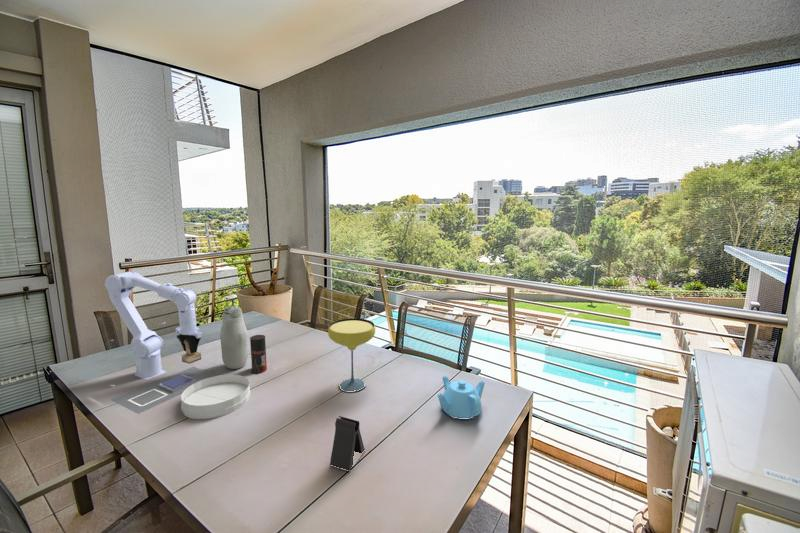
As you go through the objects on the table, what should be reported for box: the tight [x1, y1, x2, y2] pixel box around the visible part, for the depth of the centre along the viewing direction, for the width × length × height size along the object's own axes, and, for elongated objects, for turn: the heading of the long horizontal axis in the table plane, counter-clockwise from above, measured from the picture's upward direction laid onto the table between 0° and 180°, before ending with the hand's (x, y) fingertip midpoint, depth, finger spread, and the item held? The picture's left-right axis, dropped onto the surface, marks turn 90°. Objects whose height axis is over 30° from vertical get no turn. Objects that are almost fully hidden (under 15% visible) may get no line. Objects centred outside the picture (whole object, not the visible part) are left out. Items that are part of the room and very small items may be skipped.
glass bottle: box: [219, 305, 249, 370], centre depth 148 cm, size 10×10×28 cm
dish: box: [180, 374, 251, 420], centre depth 123 cm, size 22×22×5 cm
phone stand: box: [329, 415, 366, 470], centre depth 95 cm, size 9×6×12 cm, turn 158°
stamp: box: [181, 340, 202, 365], centre depth 141 cm, size 5×5×9 cm
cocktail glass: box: [327, 318, 376, 391], centre depth 133 cm, size 18×18×25 cm
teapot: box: [437, 375, 486, 418], centre depth 119 cm, size 15×15×11 cm
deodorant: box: [249, 334, 268, 374], centre depth 146 cm, size 6×6×15 cm
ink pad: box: [159, 375, 196, 393], centre depth 133 cm, size 9×9×2 cm
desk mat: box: [111, 366, 220, 414], centre depth 132 cm, size 18×30×1 cm, turn 153°
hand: (190, 351), depth 141 cm, fingers closed on stamp, 4 cm apart
